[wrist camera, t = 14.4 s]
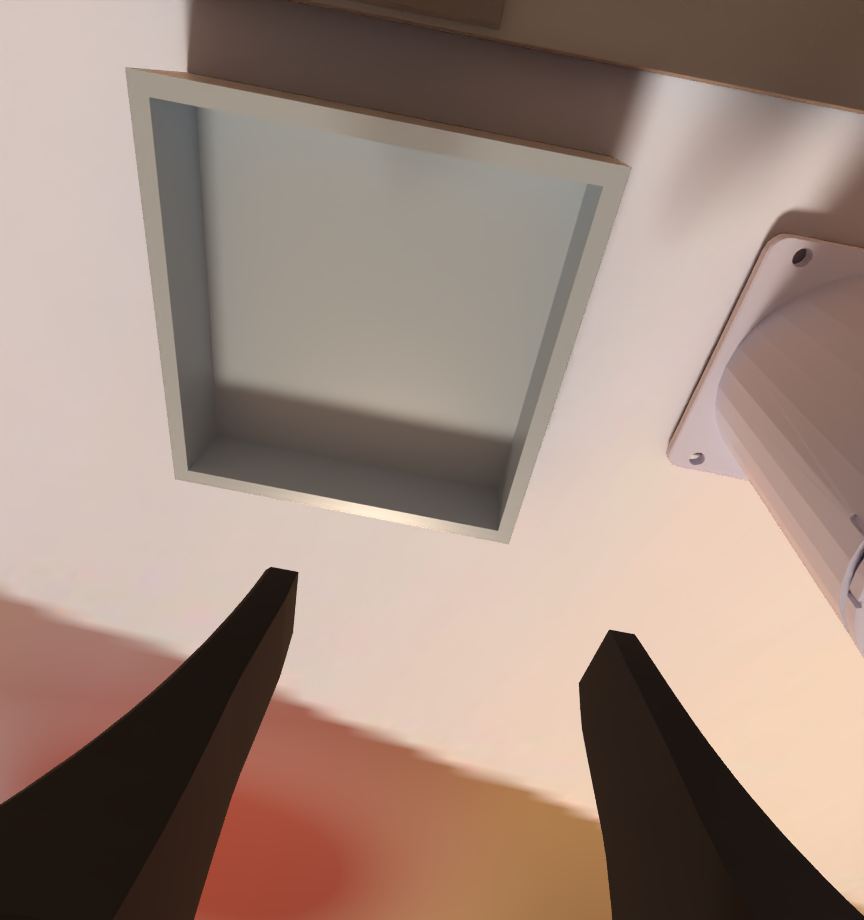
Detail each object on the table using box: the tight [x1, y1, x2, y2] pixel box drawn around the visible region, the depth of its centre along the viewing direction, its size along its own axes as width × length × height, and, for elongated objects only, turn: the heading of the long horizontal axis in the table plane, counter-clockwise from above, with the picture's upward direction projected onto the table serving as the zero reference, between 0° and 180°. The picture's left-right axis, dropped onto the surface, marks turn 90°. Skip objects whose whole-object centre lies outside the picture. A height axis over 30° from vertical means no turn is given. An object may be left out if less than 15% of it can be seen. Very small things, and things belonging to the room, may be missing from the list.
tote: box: [125, 67, 632, 544], centre depth 17 cm, size 12×12×3 cm
